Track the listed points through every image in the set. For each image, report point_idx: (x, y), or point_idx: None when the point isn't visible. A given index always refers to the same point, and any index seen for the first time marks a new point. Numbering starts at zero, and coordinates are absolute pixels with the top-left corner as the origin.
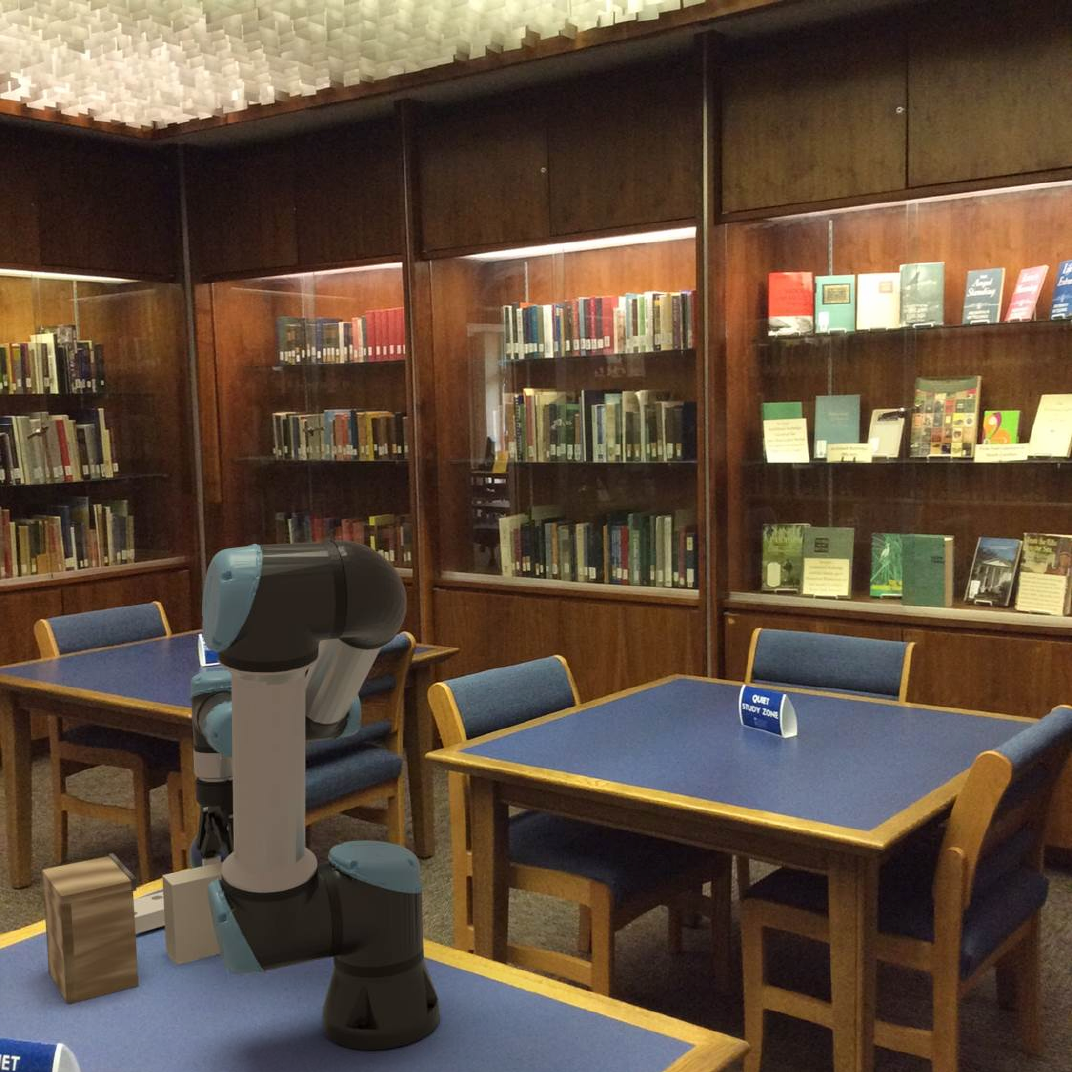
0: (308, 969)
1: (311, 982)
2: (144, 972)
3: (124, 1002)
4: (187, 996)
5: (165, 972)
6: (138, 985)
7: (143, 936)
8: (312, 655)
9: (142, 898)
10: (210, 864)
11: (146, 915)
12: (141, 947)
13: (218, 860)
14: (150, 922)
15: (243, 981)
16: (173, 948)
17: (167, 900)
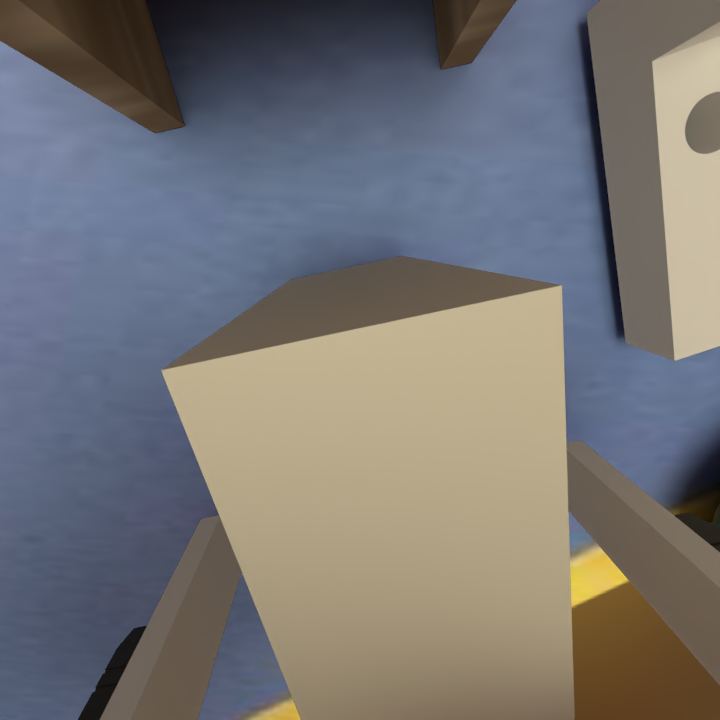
0: (139, 592)
1: (58, 590)
2: (268, 165)
3: (18, 65)
4: (30, 292)
5: (242, 239)
6: (154, 132)
7: (590, 187)
8: None
9: None
10: (707, 613)
11: (658, 194)
12: (495, 172)
13: (715, 669)
14: (630, 214)
15: (105, 451)
16: (309, 279)
17: (368, 290)
